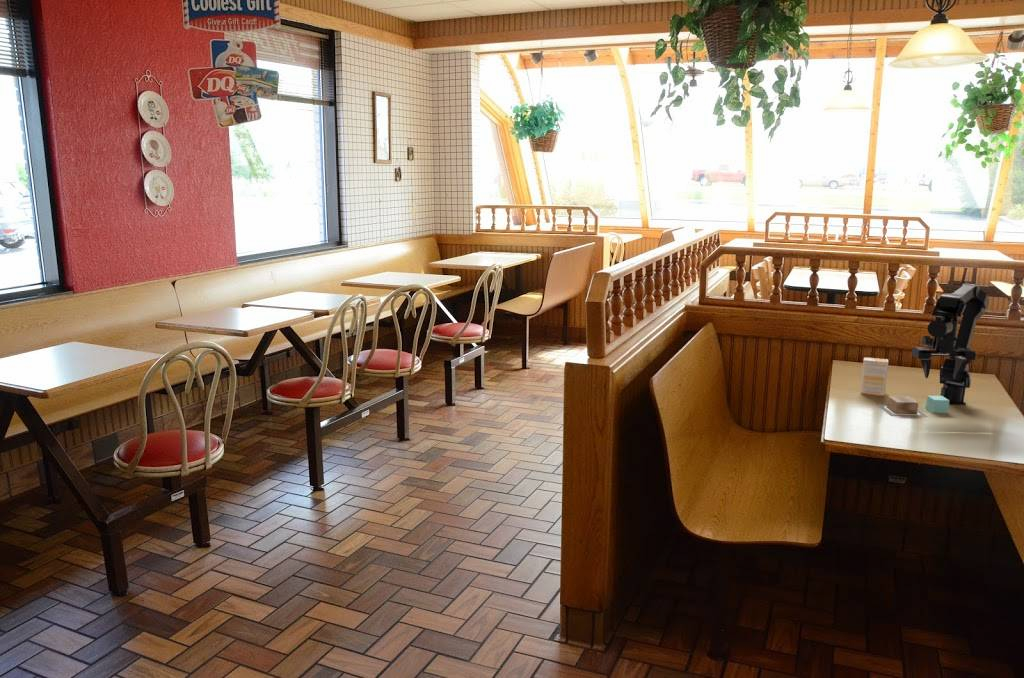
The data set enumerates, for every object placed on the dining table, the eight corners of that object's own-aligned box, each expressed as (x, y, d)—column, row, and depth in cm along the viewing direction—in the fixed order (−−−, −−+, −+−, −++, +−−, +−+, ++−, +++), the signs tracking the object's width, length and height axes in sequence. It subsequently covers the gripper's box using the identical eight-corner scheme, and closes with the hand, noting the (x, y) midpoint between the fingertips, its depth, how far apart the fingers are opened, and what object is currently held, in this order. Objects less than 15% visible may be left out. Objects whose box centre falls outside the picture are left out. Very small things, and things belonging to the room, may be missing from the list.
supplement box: (884, 394, 288) (888, 359, 285) (884, 397, 284) (888, 362, 281) (860, 391, 292) (863, 356, 289) (859, 394, 287) (863, 359, 284)
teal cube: (940, 409, 271) (942, 395, 270) (947, 414, 266) (949, 400, 265) (925, 409, 271) (927, 395, 270) (932, 414, 266) (934, 400, 265)
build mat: (911, 406, 274) (911, 405, 274) (927, 417, 262) (928, 416, 262) (876, 405, 274) (876, 404, 274) (890, 417, 263) (891, 415, 263)
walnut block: (907, 407, 271) (909, 396, 271) (916, 414, 265) (918, 402, 264) (886, 407, 272) (888, 395, 271) (895, 413, 265) (897, 402, 264)
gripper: (963, 328, 270) (957, 372, 274) (907, 327, 271) (901, 371, 275) (980, 335, 259) (973, 381, 263) (921, 334, 260) (916, 380, 264)
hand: (940, 378), depth 266 cm, fingers open, 9 cm apart
